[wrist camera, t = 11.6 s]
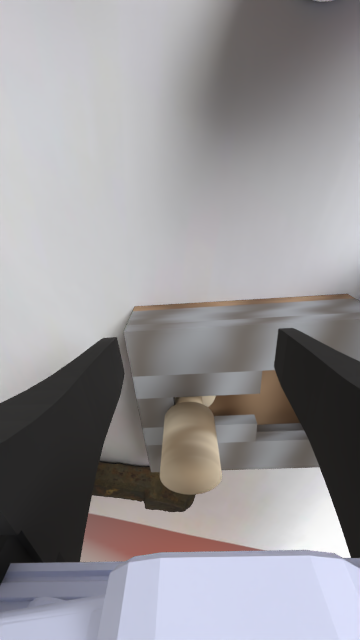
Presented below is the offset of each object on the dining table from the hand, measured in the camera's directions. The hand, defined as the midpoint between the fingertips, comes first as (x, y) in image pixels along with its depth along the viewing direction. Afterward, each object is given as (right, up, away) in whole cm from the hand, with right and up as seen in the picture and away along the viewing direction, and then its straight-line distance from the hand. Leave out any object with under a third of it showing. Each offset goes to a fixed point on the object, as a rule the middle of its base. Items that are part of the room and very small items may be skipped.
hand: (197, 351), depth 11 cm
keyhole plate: (+5, -4, +14) cm, 15 cm away
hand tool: (-8, -16, +20) cm, 27 cm away
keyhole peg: (0, -5, +13) cm, 14 cm away
